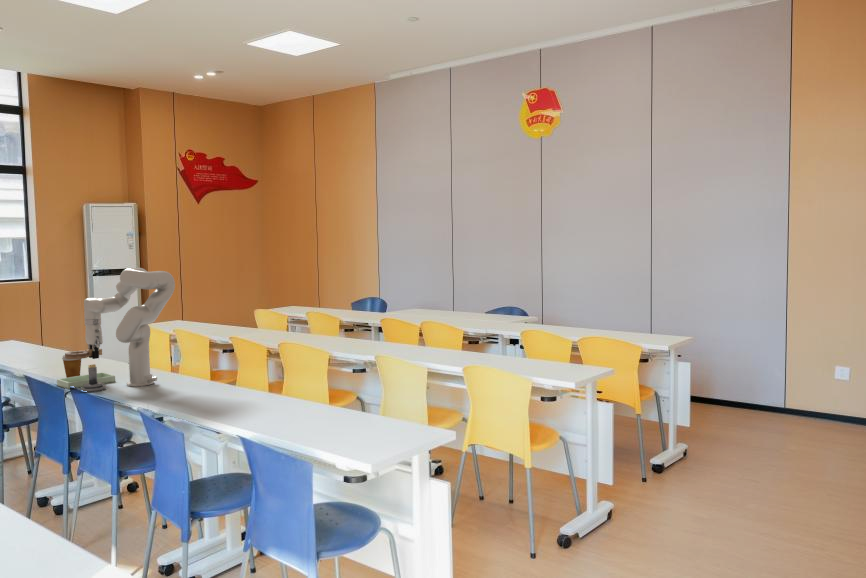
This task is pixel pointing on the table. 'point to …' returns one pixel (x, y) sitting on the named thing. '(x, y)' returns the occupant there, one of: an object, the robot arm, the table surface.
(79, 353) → the ring
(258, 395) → the table surface
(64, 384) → the tray
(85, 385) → the post
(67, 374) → the disposable coffee cup
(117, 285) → the robot arm
